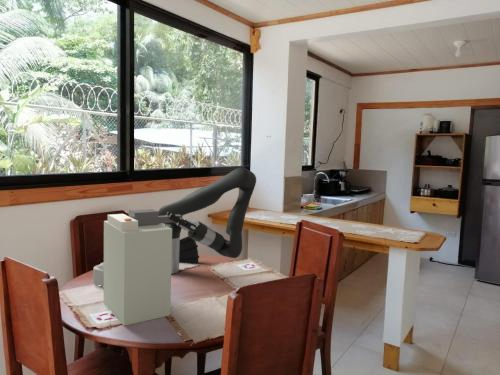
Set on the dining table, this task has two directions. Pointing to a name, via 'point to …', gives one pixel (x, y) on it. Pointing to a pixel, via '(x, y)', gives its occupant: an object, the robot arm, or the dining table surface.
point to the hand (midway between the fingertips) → (168, 215)
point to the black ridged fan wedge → (188, 251)
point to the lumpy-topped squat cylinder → (98, 274)
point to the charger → (149, 217)
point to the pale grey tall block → (137, 269)
